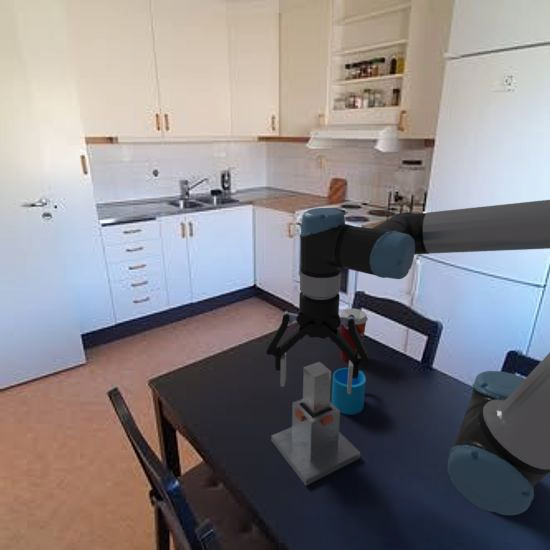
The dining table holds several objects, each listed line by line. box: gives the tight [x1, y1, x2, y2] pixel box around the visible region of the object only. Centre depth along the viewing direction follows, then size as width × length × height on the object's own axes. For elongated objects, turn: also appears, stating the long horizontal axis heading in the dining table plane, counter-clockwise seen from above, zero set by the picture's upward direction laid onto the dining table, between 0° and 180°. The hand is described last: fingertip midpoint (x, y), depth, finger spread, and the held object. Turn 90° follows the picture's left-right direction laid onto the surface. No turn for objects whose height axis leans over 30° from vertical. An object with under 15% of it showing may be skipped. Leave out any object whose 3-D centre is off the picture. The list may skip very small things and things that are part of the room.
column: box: [302, 361, 332, 418], centre depth 84 cm, size 4×4×19 cm
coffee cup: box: [339, 308, 368, 363], centre depth 120 cm, size 8×8×15 cm
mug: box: [331, 367, 367, 416], centre depth 103 cm, size 12×8×8 cm
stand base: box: [270, 398, 361, 487], centre depth 86 cm, size 14×14×12 cm
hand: (315, 386), depth 83 cm, fingers open, 13 cm apart
